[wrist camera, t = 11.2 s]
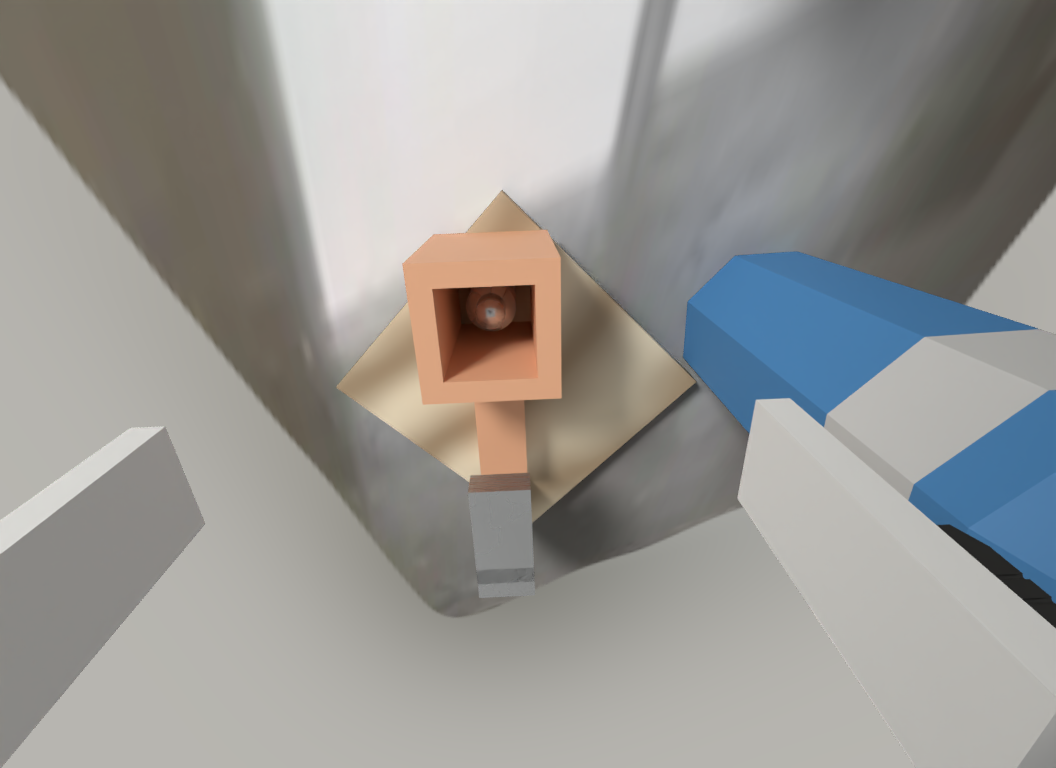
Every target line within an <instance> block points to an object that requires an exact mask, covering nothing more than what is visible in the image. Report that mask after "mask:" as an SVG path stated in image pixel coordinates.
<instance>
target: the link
mask: <svg viewBox="0 0 1056 768" xmlns="http://www.w3.org/2000/svg"><path fill="white" fill-rule="evenodd" d="M403 271H404V278H405V285H406V292H407V299H408V306H409V313H410V320H411V327H412V334H413V341H414V348H415V355H416V362H417V369H418V375H419V382H420V389H421V396H422V403H423V405H426V404H449V403H471V402H474V405H475V416H476V427H477V438H478V448H479V459H480V470H481V475H490V474H511V473H527V453H526V430H525V406H524V400H538V399H560V398H562V388H561V257H560V255H559V253H558V251H557V249H556V247H555V245H554V243H553V241H552V239H551V237H550V235H549V233H548V231H547V230H531V231H506V232H482V233H457V234H434V235H433V236H432V237H430V238H429V239H428V240H427V241H426V242H425V243H424V244H423V245H422V246H421V247H420V248H419V249H418V250H417V251H416V252H415V253H414V254H413V255H411V256H410V257H409V258H408V259H407V260H406V261H405V262H404V263H403ZM515 285H530V302H531V321H524V322H511V323H510V324H509V325H508V326H506V327H505V328H503V329H501V330H498V331H486V330H482V329H480V328H478V327H477V326H476V325H474V324H461V314H460V304H459V294H458V288H468V287H491V286H515Z"/></svg>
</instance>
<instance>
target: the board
mask: <svg viewBox="0 0 1056 768" xmlns="http://www.w3.org/2000/svg"><path fill="white" fill-rule="evenodd" d="M531 230H542V229H541V228H540V227H539V226H538V225H537V224H536V223H535V222H534V221H533V220H532V219H531V218H530V217H529V216H528V215H527V214H526V213H525V212H524V211H523V210H522V209H521V208H520V207H519V206H518V205H517V204H516V203H515V202H514V201H513V200H512V199H511V198H510V197H509V196H508V195H507V194H506V193H505V192H504V191H503V190H502V191H501V192H500V193H499V194H498V195H497V197H496V198H495V199H494V200H493V201H492V203H491V204H490V205H489V206H488V207H487V208H486V210H485V211H484V212H483V213H482V214H481V216H480V217H479V218H478V219H477V220H476V222H475V223H474V224H473V225H472V226H471V227H470V229H469V230H468V231H467V232H466V233H482V232H506V231H531ZM551 239H552V238H551ZM552 241H553V243H554V245H555V247H556V249H557V251H558V253H559V255H560V257H561V388H562V398H560V399H538V400H524V406H525V430H526V453H527V473H530V487H531V511H532V523H533V522H534V521H535V520H536V519H537V518H539V517H540V516H541V515H542V514H543V513H544V512H546V511H547V510H548V509H549V508H550V507H551V506H553V505H554V504H555V503H556V502H557V501H558V500H560V499H561V498H562V497H563V496H564V495H565V494H567V493H568V492H569V491H570V490H571V489H572V488H573V487H575V486H576V485H577V484H578V483H579V482H580V481H582V480H583V479H584V478H585V477H586V476H587V475H589V474H590V473H591V472H592V471H593V470H594V469H596V468H597V467H598V466H599V465H600V464H601V463H603V462H604V461H605V460H606V459H607V458H608V457H610V456H611V455H612V454H613V453H614V452H615V451H616V450H618V449H619V448H620V447H621V446H622V445H623V444H625V443H626V442H627V441H628V440H629V439H630V438H632V437H633V436H634V435H635V434H636V433H637V432H639V431H640V430H641V429H642V428H643V427H644V426H646V425H647V424H648V423H649V422H650V421H651V420H653V419H654V418H655V417H656V416H657V415H658V414H660V413H661V412H662V411H663V410H664V409H665V408H666V407H668V406H669V405H670V404H671V403H672V402H673V401H675V400H676V399H677V398H678V397H679V396H680V395H682V394H683V393H684V392H685V391H686V390H687V389H689V388H690V387H691V386H692V385H693V384H694V383H696V381H695V380H694V378H693V377H692V376H691V375H690V374H689V373H688V372H687V371H686V370H685V369H684V368H683V367H682V366H681V365H680V364H679V363H678V362H677V361H676V360H675V359H674V358H673V357H672V356H671V355H670V354H669V353H668V352H667V351H666V350H665V349H664V348H663V347H662V346H661V345H660V344H659V343H658V342H657V341H656V340H655V339H654V338H653V337H652V336H651V335H650V334H649V333H647V332H646V331H645V330H644V329H643V328H642V327H641V326H640V325H639V324H638V323H637V322H636V321H635V320H634V319H633V318H632V317H631V316H630V315H629V314H628V313H627V312H626V311H625V310H624V309H623V308H622V307H621V306H620V305H619V304H618V303H617V302H616V301H615V300H614V299H613V298H612V297H611V296H610V295H609V294H608V293H607V292H606V291H605V290H604V289H603V288H602V287H601V286H600V285H598V284H597V283H596V282H595V281H594V280H593V279H592V278H591V277H590V276H589V275H588V274H587V273H586V272H585V271H584V270H583V269H582V268H581V267H580V266H579V265H578V264H577V263H576V262H575V261H574V260H573V259H572V258H571V257H570V256H569V255H568V254H567V253H566V252H565V251H564V250H563V249H562V248H561V247H560V246H559V245H558V244H557V243H556V242H555V241H554V240H553V239H552ZM470 289H471V287H468V288H458V294H459V304H460V314H461V324H473V323H472V321H471V320H470V318H469V317H468V314H467V310H466V303H467V299H468V296H469V292H470ZM524 321H531V302H530V285H516V313H515V316H514V319H513V320H512V322H524ZM336 388H338V389H339V390H341V391H342V392H343V393H345V394H346V395H348V396H349V397H350V398H352V399H353V400H355V401H356V402H357V403H359V404H360V405H362V406H363V407H364V408H366V409H367V410H369V411H370V412H371V413H373V414H374V415H376V416H377V417H379V418H380V419H381V420H383V421H384V422H386V423H387V424H388V425H390V426H391V427H393V428H394V429H395V430H397V431H398V432H400V433H401V434H402V435H404V436H405V437H407V438H408V439H409V440H411V441H412V442H414V443H415V444H416V445H418V446H419V447H421V448H422V449H424V450H425V451H426V452H428V453H429V454H431V455H432V456H433V457H435V458H436V459H438V460H439V461H440V462H442V463H443V464H445V465H446V466H447V467H449V468H450V469H452V470H453V471H454V472H456V473H457V474H459V475H460V476H462V477H463V478H464V479H466V480H467V481H469V482H470V475H481V470H480V459H479V448H478V438H477V427H476V416H475V405H474V402H471V403H449V404H426V405H423V403H422V396H421V389H420V382H419V375H418V369H417V362H416V355H415V348H414V341H413V334H412V327H411V320H410V313H409V306H408V302H407V303H406V304H405V306H404V307H403V308H402V309H401V310H400V312H399V313H398V314H397V315H396V316H395V317H394V319H393V320H392V321H391V322H390V323H389V325H388V326H387V327H386V328H385V329H384V331H383V332H382V333H381V334H380V335H379V336H378V338H377V339H376V340H375V341H374V342H373V344H372V345H371V346H370V347H369V348H368V349H367V351H366V352H365V353H364V354H363V355H362V357H361V358H360V359H359V360H358V361H357V363H356V364H355V365H354V366H353V367H352V368H351V370H350V371H349V372H348V373H347V374H346V376H345V377H344V378H343V379H342V380H341V382H340V383H339V384H338V386H337V387H336Z"/></svg>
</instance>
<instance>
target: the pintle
mask: <svg viewBox="0 0 1056 768" xmlns="http://www.w3.org/2000/svg"><path fill="white" fill-rule="evenodd" d="M466 310H467V314H468V317H469V318H470V320H471V321H472V323H473V324H474V325H476V326H477V327H478V328H480V329H482V330H486V331H498V330H501V329H503V328H505V327H506V326H508V325H509V324H510V323H511V322H512V320H513V319H514V316H515V313H516V285H515V286H491V287H471V289H470V292H469V296H468V299H467V303H466Z"/></svg>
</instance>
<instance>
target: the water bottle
mask: <svg viewBox="0 0 1056 768" xmlns="http://www.w3.org/2000/svg"><path fill="white" fill-rule="evenodd" d="M683 358H684V359H685V360H686V361H687V362H688V363H689V365H690V366H691V367H692V368H693V369H694V370H695V372H696V373H697V374H698V375H699V376H700V377H701V378H702V380H703V381H704V382H705V383H706V384H707V385H708V387H709V388H710V389H711V390H712V391H713V392H714V393H715V395H716V396H717V397H718V398H719V399H720V400H721V402H722V403H723V404H724V405H725V406H726V407H727V408H728V410H729V411H730V412H731V413H732V414H733V415H734V416H735V418H736V419H737V420H738V421H739V422H740V423H741V425H742V426H743V427H744V428H745V429H746V430H747V431H748V433H749V434H750V429H751V423H752V418H753V413H754V407H755V402H756V400H760V399H782V398H790V399H791V400H793V401H794V402H795V403H796V404H797V405H798V406H799V407H801V408H802V409H803V410H804V411H805V412H806V413H808V414H809V415H810V416H811V417H812V418H813V419H814V420H816V421H817V422H818V423H819V424H820V425H821V426H823V427H824V428H825V429H826V430H827V431H828V432H829V433H831V434H832V435H833V436H834V437H835V438H836V439H838V440H839V441H840V442H841V443H842V444H843V445H845V446H846V447H847V448H848V449H849V450H850V451H851V452H853V453H854V454H855V455H856V456H857V457H858V458H860V459H861V460H862V461H863V462H864V463H865V464H866V465H868V466H869V467H870V468H871V469H872V470H873V471H875V472H876V473H877V474H878V475H879V476H880V477H881V478H883V479H884V480H885V481H886V482H887V483H888V484H890V485H891V486H892V487H893V488H894V489H895V490H896V491H898V492H899V493H900V494H901V495H902V496H903V497H905V498H906V499H907V500H908V501H909V502H910V503H911V504H913V505H914V506H915V507H916V508H917V509H918V510H920V511H921V512H922V513H923V514H924V515H925V516H926V517H928V518H929V519H930V520H931V521H932V522H933V523H935V524H936V525H946V524H950V525H952V526H953V527H955V528H957V529H959V530H961V531H963V532H964V533H966V534H968V535H970V536H972V537H973V538H975V539H977V540H979V541H981V542H983V543H984V544H986V545H988V546H990V547H991V548H992V549H993V550H995V551H996V552H997V553H998V554H1000V555H1001V556H1002V557H1003V558H1004V559H1006V560H1007V561H1008V562H1009V563H1011V564H1012V565H1013V566H1014V567H1015V568H1017V569H1018V570H1019V571H1020V572H1022V573H1023V577H1024V578H1025V579H1030V580H1031V581H1033V582H1034V583H1035V584H1036V585H1038V586H1039V587H1040V588H1041V589H1042V590H1044V591H1045V592H1046V593H1047V594H1049V595H1050V596H1051V597H1052V601H1053V602H1054V603H1056V334H1053V333H1050V332H1047V331H1044V330H1041V329H1038V328H1035V327H1031V326H1028V325H1025V324H1022V323H1019V322H1015V321H1013V320H1010V319H1006V318H1003V317H1000V316H997V315H994V314H991V313H988V312H985V311H981V310H978V309H975V308H972V307H969V306H966V305H963V304H960V303H956V302H953V301H950V300H947V299H944V298H941V297H938V296H935V295H932V294H928V293H925V292H922V291H919V290H916V289H913V288H910V287H907V286H903V285H900V284H897V283H894V282H891V281H888V280H885V279H882V278H878V277H875V276H872V275H869V274H866V273H863V272H860V271H857V270H853V269H850V268H847V267H844V266H841V265H838V264H835V263H832V262H828V261H825V260H822V259H819V258H816V257H813V256H810V255H807V254H804V253H800V252H782V253H767V254H753V255H738V256H734V257H733V258H732V259H731V260H730V261H729V262H728V263H727V264H726V265H725V266H724V267H723V268H722V269H721V270H720V271H719V272H718V273H717V274H716V275H715V276H714V277H713V278H712V279H711V280H710V281H708V282H707V283H706V284H705V285H704V286H703V287H702V288H701V289H700V290H699V291H698V292H697V293H696V294H695V295H694V296H693V297H692V298H691V299H690V300H689V301H688V304H687V316H686V329H685V341H684V353H683Z"/></svg>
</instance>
